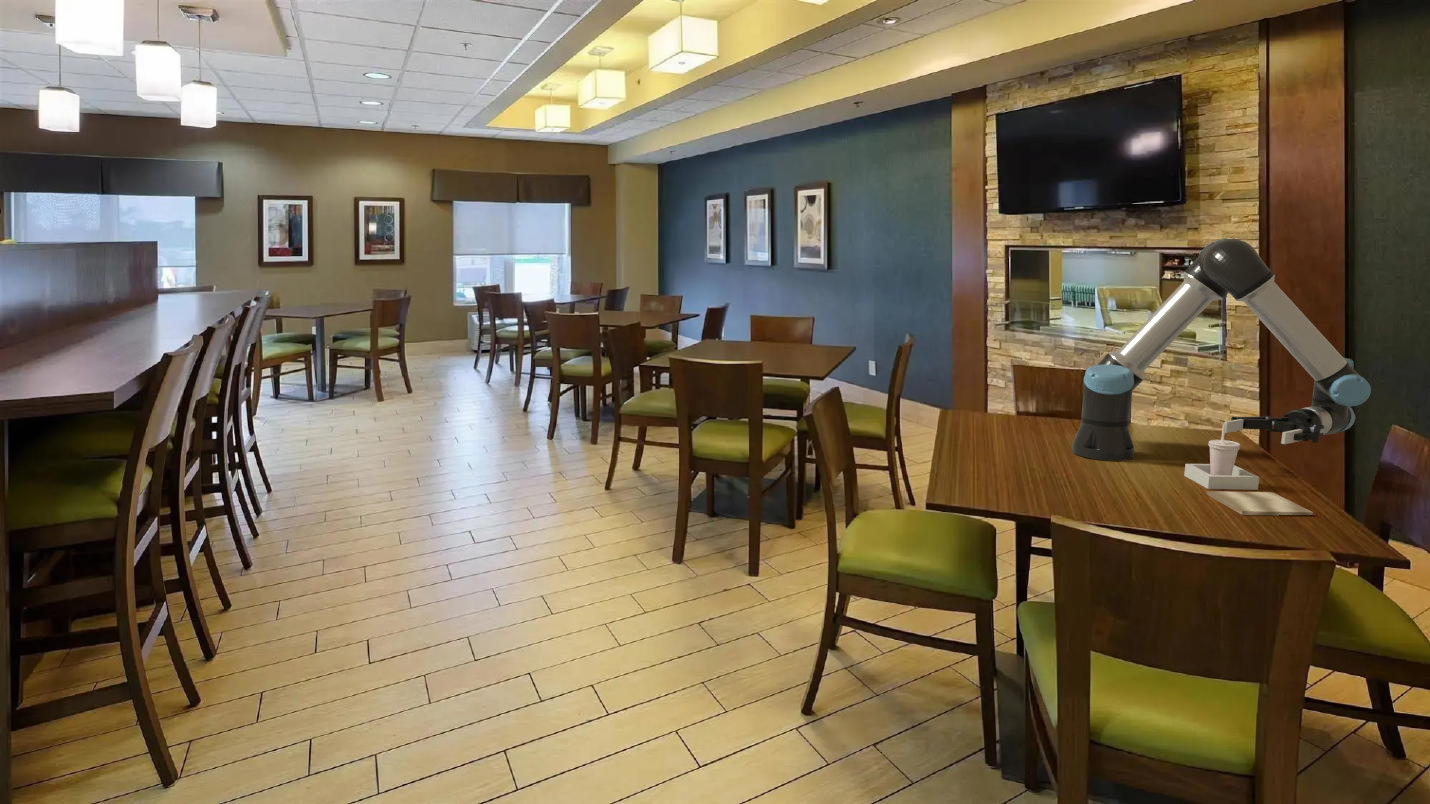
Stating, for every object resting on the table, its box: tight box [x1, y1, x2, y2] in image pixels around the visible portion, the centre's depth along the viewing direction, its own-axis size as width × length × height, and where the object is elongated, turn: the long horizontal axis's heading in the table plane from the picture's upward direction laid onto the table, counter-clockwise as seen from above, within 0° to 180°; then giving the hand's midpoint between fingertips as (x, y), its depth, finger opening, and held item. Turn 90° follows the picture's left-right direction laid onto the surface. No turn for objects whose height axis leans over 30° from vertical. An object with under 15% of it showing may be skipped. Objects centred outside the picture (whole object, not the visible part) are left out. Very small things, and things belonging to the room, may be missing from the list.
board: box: [1206, 490, 1314, 516], centre depth 175 cm, size 14×14×1 cm
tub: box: [1183, 463, 1260, 491], centre depth 191 cm, size 11×11×3 cm
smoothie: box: [1207, 424, 1241, 476], centre depth 190 cm, size 6×6×14 cm
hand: (1253, 432), depth 193 cm, fingers open, 13 cm apart
